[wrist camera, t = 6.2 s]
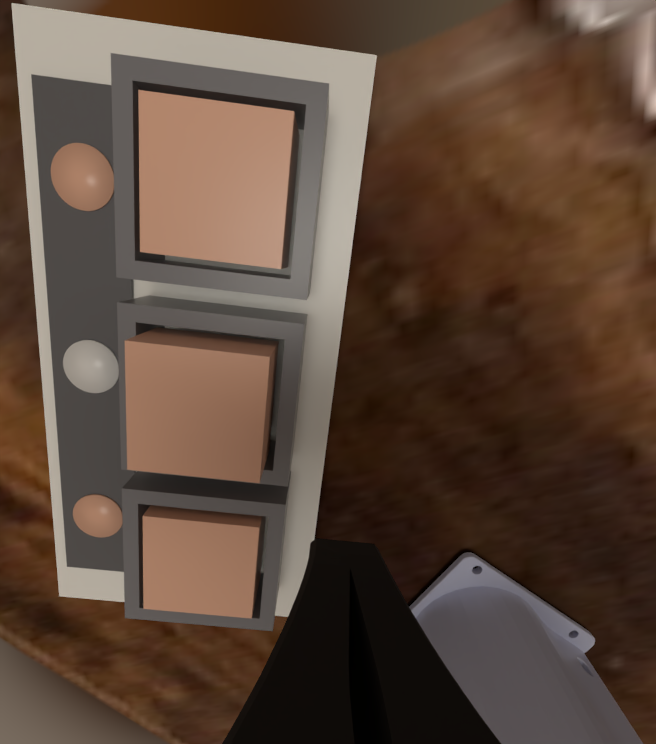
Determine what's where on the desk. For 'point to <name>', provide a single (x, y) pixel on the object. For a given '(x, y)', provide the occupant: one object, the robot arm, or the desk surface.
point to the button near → (216, 179)
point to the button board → (177, 283)
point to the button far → (201, 561)
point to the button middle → (199, 403)
